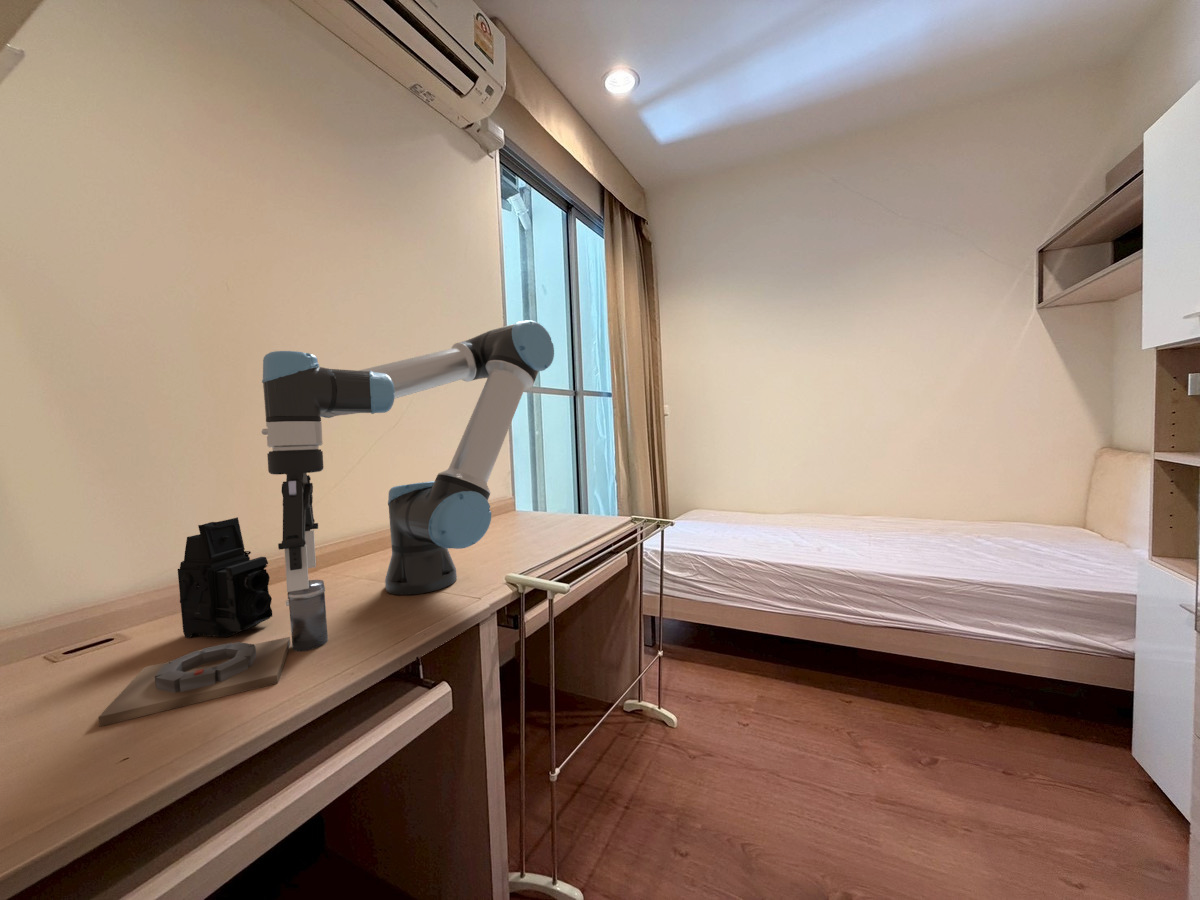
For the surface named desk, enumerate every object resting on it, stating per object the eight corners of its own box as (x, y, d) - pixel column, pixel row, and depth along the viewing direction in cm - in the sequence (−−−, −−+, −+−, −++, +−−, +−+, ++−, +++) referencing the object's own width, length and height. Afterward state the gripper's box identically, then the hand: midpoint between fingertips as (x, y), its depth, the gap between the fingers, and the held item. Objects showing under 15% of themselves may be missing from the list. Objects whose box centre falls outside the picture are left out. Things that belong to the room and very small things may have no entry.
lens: (329, 634, 80) (325, 577, 80) (327, 646, 75) (323, 586, 75) (291, 642, 78) (287, 583, 77) (287, 655, 73) (282, 593, 72)
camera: (237, 644, 78) (228, 526, 77) (173, 640, 80) (163, 526, 79) (289, 620, 87) (280, 514, 86) (230, 617, 90) (222, 515, 89)
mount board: (290, 643, 77) (289, 625, 77) (277, 683, 65) (275, 661, 64) (145, 674, 69) (143, 654, 68) (99, 726, 56) (96, 701, 56)
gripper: (279, 448, 84) (285, 563, 85) (251, 451, 62) (260, 606, 63) (326, 446, 88) (332, 557, 89) (316, 448, 66) (324, 595, 66)
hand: (302, 578), depth 76 cm, fingers open, 13 cm apart
